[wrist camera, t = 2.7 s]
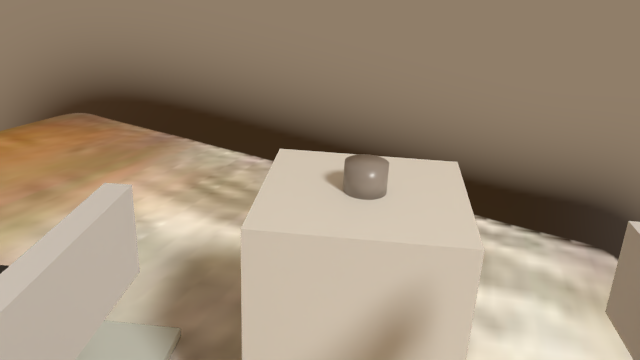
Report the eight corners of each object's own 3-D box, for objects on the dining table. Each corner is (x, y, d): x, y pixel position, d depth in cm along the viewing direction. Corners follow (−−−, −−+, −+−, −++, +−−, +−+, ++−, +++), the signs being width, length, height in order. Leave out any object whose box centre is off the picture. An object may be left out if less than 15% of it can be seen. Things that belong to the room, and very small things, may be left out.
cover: (243, 450, 28) (240, 196, 23) (277, 327, 36) (280, 123, 31) (446, 473, 27) (490, 216, 22) (431, 342, 36) (461, 136, 31)
